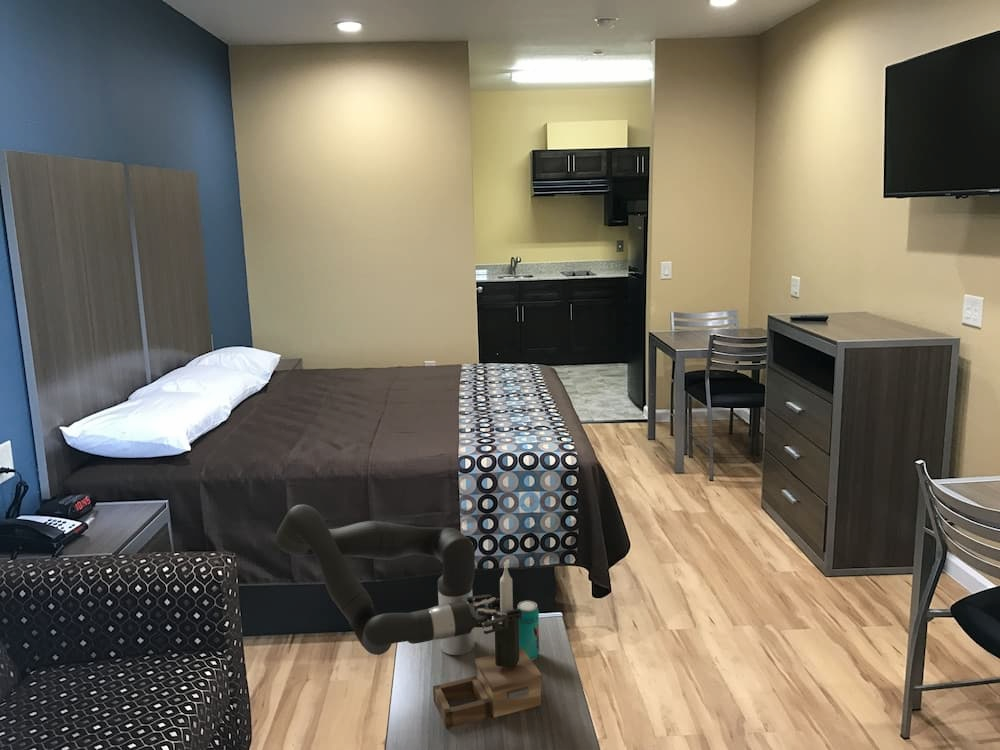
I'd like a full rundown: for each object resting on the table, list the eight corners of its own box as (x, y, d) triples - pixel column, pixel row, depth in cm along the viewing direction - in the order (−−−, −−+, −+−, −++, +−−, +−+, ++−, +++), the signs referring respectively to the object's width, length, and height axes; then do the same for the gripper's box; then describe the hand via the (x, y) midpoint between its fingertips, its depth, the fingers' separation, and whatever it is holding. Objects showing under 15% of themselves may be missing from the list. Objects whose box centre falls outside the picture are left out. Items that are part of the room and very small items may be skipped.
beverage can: (537, 663, 203) (536, 611, 200) (515, 661, 205) (514, 610, 201) (540, 651, 209) (539, 600, 206) (519, 649, 210) (518, 599, 207)
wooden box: (432, 697, 191) (430, 667, 189) (521, 675, 199) (521, 646, 197) (448, 732, 178) (447, 700, 176) (543, 707, 186) (543, 676, 184)
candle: (520, 657, 189) (519, 563, 184) (514, 669, 185) (512, 572, 179) (500, 654, 191) (499, 560, 186) (494, 665, 186) (492, 569, 181)
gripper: (457, 621, 173) (527, 606, 178) (439, 591, 186) (505, 579, 192) (458, 651, 174) (527, 636, 180) (440, 620, 188) (505, 607, 193)
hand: (515, 606), depth 186 cm, fingers closed on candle, 6 cm apart
